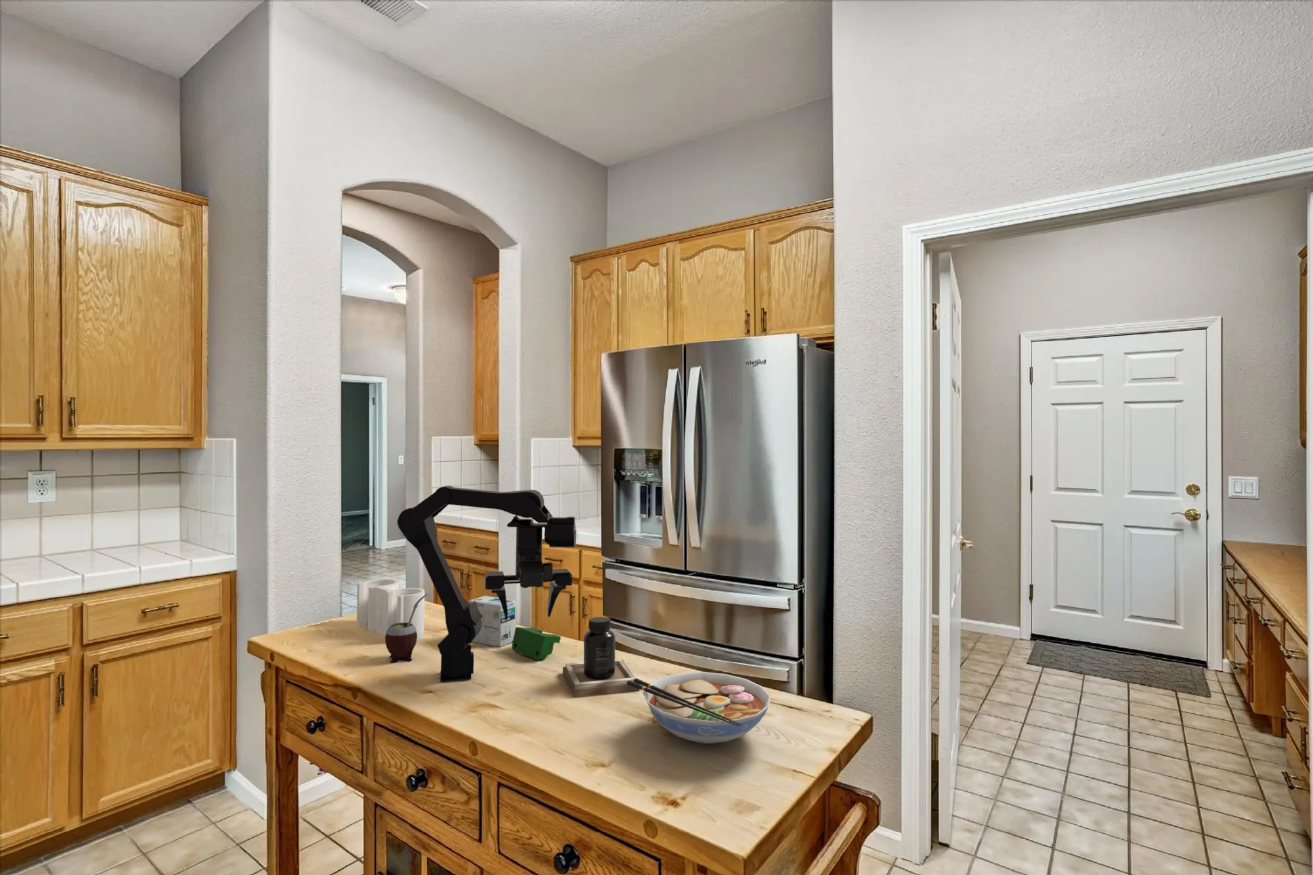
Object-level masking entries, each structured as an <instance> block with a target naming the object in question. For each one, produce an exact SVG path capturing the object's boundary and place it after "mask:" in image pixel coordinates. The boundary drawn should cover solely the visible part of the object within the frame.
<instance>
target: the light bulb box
mask: <svg viewBox="0 0 1313 875" xmlns="http://www.w3.org/2000/svg"><path fill="white" fill-rule="evenodd" d="M474 601H476V603H477V607H478V610H479V612H480V613H481V614H482V615H483V617H482V619H481V620H482V628H481V630H480V632H479V633H478V634H477V636H476V637H475V638H474V639H473V641H472V642H471V643H477V644H478V643H479V644H483V645H487V646H494V647H498V646H501V647H503V645H504V646H506V645H508V644H510V643H511V644H512V641H513V638H514V633H515V628H516V627H517V599H511V598H506V601H507V610H508V619H507V620H506V618H505V615H504V612H503V608H502V605H501V602H500V600H499V598H498V596H497V597H496V596H495V597H494V596H489V595H482V596H480V597H477V598H472V599H469V601H468V603H469V604H471V603H472V602H474ZM507 643H508V644H507Z"/></svg>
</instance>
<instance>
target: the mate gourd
mask: <svg viewBox="0 0 1313 875" xmlns="http://www.w3.org/2000/svg"><path fill="white" fill-rule="evenodd" d="M426 596H428V593H425V595H424V596H423V597H422V598H420V599H419V600H418V601H417V602H416V603H415V605H414V609H413V611H412V614H411V617H410V619H409V622H408V623H396V624H392V625H391V626H390V627H389V628H388V629H387V631H386V635H385V636H384V641H385V645H386V646H385V647H386V649H387V652H388V653H389V654H390V655H389V659H391V660H390V661H389V663H390V664H395V663H397V662H399V661H404V662H412V661H413V658H412V655H413V651H414V649H415V647H416V644H417V641H418V640H417V632H416V628H415V626H414V625H413V624H412V623H411V621H412V618H413V615H414V613H415V610H416V608H417V606H418V603H419V602H420V601H421V600H422V599H423V598H424V597H426Z"/></svg>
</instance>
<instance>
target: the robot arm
mask: <svg viewBox="0 0 1313 875" xmlns="http://www.w3.org/2000/svg"><path fill="white" fill-rule="evenodd" d="M449 505H450V506H459V507H460V506H461V507H471V508H482V509H490V510H500V511H503V512H505V513H508V514H510V515H513V518H512V520H510V521H509V522H508V523H507V524H506V526H507V527H508V528H515V530H516V531H515V571H514V572H515V574H510V575H509V574H508V575H507V574H506V575H505V574H504V571H503V570H502V571H487V572H486V573H485V574H484V578H483V579H484V589H485V590H487V591H489V590H490V592H491V593H492V594H496V595H497V598H499V600H500V602H501V605H502V608H503V612H504V615H505V618H506V620H507V619H508V610H507V601H506V599H507V594H506V593H507V592H506V588H505V585H512V584H513V585H514V584H519V586H520V588H523V589H528V588H534V587H536V588H542V587H544V583H549V589H548V598H547V599H548V600H547V618H548V617H549V618H550V617H551V616H552V613H553V609H554V606H555V603H556V600H557V599H558V597H559V594H560V593H561V592H562V590H567V587H570V586H573V574H572V573H571V572H570V570H569V569H567V568H553V567H554V565H553V562H543V540H544V543H545V544H546V545H548V547H549V548H562V549H563V548H569V549H570V548H572V549H574V548H576V545H577V529H576V517H575V516H566V517H560V516H559V517H557V516H553V515H552V513H551V512H550V511H549V509H548V508H547V506H546V504H545V499H544V495H542V493H541V492H540V491H538V490H536V489H524V490H523V489H521V490H512V491H511V490H510V491H497V490H495V491H494V490H486V489H485V490H484V489H476V488H465V487H463V488H462V487H455V486H453V485H445V486H441V487H438V488H437V489H436V490H435V491H434V492H433V493H432V494H430V495H429V496H428V497H426V498H425V499H423V500H422V501H421V502H419V503H417V505H415V506H411V507H409V508H406V509H403V511H401V512H400V514H399V515H398V518H397V519H396V524H397V527H398V529H399V530H400V532H401V533H402V535H403V536H404V538H405V539H406V541H408V542H409V543H410V544H411V546H413V547H414V548H415V549H416V550H417V551H418V554H419V556H420V558H421V561H422V563H423V565H424V567H425V570H426V571H427V574H428V576H429V578H430V579H431V580H430V581H431V582H432V585H433V587H434V589H435V591H436V594H437V595H438V598H439V599H440V602H441V605H442V606H443V610H444V619H445V625H446V629H447V634H446V635H445V637H443V639H441V640H440V641H439V643H437V648H438V652H439V654H440V656H441V657H440V673H439V674H440V675H439V682H441V683H444V682H455V681H467V680H469V681H470V680H472V675H473V674H474V671H475V670H474V669H475V668H474V667H475V666H474V664H475V660H474V659H475V653H474V651H472V645H471V643H473V642H472V641H473V639H474V638H475V637H476V636H477V634H478V633H479V632H480V630H481V628H482V620H481V619H482V617H483V615H482V614H481V613H480V612H479V610H478V607H477V603H476V601H474V602H472V603H471V604H469V601H467V600H466V599H465V597H464V596H463V594H462V591H461V590H460V587H459V585H458V583H457V581H456V579H455V577H454V574H453V572H452V570H451V568H450V566H449V564H448V562H447V558H446V557H445V554H444V553H443V551H442V548H441V546H440V544H439V541H438V537H437V536H438V535H437V525H436V521H435V518H436V516H438V515H439V514H440V513H441V512H442V511H443V510H445V509H446V508H447V507H448V506H449ZM520 517H521V518H520ZM534 521H535V522H534ZM543 528H544V534H543ZM543 535H544V536H543Z"/></svg>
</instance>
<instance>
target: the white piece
mask: <svg viewBox="0 0 1313 875" xmlns="http://www.w3.org/2000/svg"><path fill="white" fill-rule="evenodd" d="M356 586H357V587H356V588H357V590H356V627H358V628H360V627H364V626H365V625H367V632H368V633H373V632H376V633H378V634H380V635H382V636H384V637H385V635H386V631H387V629H388V628H389V627H390V626H391V625H392V624H396V623H408V622H409V619H410V617H411V614H412V611H413V609H414V605H415V603H416V602H417V601H418V600H419V599H420V598H422V597H423V596H424V595H425V594H426V593H425V592H426V590H425V589H423V588H420V587H419V588H418V587H404V588H400V580H398V579H397V578H396V579H395V578H378V579H377V578H373V579H369V580H364V581H359V582H357V583H356ZM425 597H426V596H425ZM425 597H424V598H423V599H422V600H421V601H420V602H419V603H418V606H417V608H416V610H415V613H414V615H413V618H412V621H411V623H412V624H413V625H414V626H415V628H416V632H417V641H420V640H422V639H424V638H425Z"/></svg>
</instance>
